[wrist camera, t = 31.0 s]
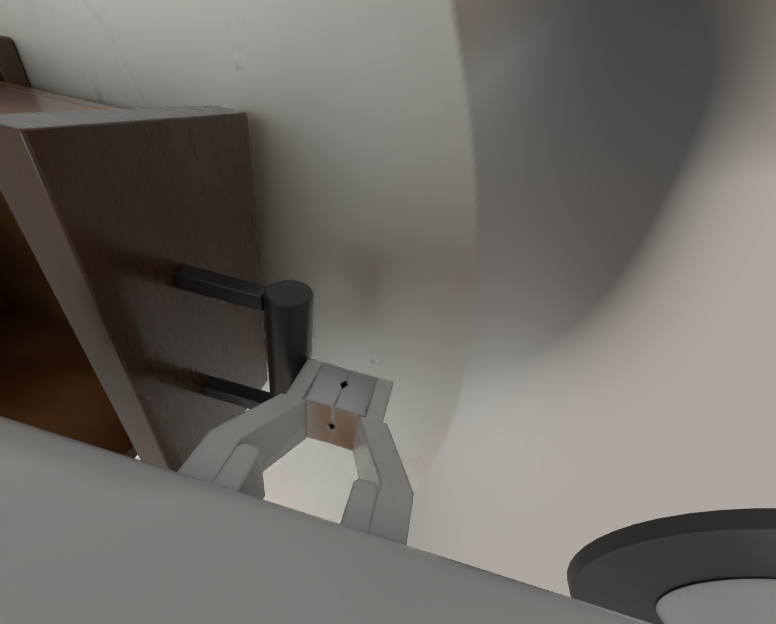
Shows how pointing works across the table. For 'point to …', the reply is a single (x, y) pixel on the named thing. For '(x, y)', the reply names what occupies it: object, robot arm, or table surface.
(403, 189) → the table surface
